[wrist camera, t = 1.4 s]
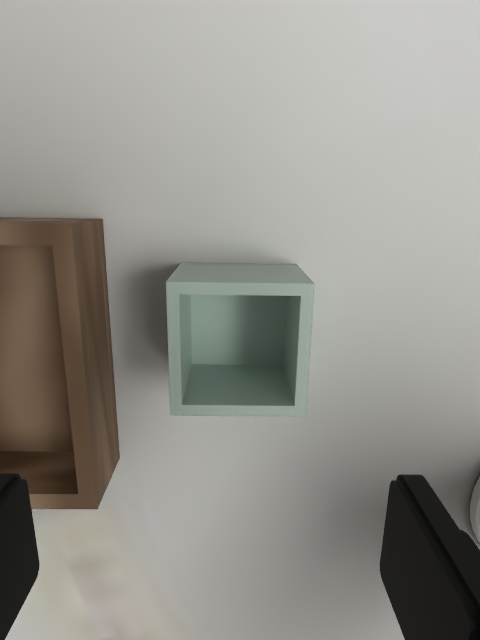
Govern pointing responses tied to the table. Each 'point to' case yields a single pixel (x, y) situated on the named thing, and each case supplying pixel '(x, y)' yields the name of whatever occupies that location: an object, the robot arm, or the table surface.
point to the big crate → (56, 361)
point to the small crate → (239, 339)
